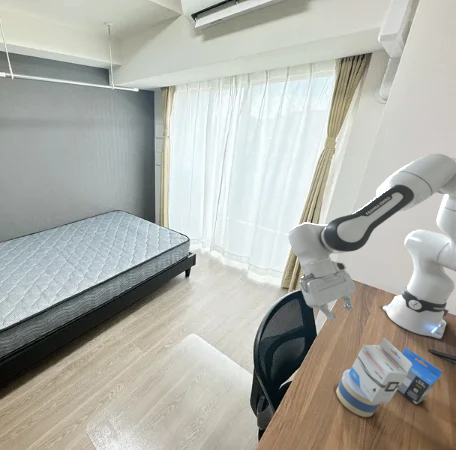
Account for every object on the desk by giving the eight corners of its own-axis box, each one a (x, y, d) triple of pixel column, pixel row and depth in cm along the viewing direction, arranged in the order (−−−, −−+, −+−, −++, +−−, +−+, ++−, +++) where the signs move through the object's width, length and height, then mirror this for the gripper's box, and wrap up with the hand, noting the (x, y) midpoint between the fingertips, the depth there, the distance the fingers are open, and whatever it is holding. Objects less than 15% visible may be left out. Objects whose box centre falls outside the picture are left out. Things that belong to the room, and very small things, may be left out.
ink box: (347, 373, 72) (366, 335, 66) (363, 373, 72) (383, 336, 66) (371, 403, 64) (394, 364, 58) (389, 404, 64) (414, 364, 58)
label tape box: (381, 377, 78) (397, 349, 74) (389, 373, 80) (405, 346, 75) (415, 405, 71) (436, 376, 66) (423, 400, 72) (444, 371, 67)
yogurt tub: (346, 380, 77) (354, 364, 74) (381, 409, 69) (391, 393, 67) (328, 392, 73) (336, 376, 71) (363, 423, 66) (373, 407, 63)
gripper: (307, 275, 72) (330, 324, 68) (347, 262, 80) (370, 304, 76) (290, 280, 78) (310, 325, 73) (329, 267, 86) (350, 306, 81)
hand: (341, 314), depth 75 cm, fingers open, 8 cm apart
